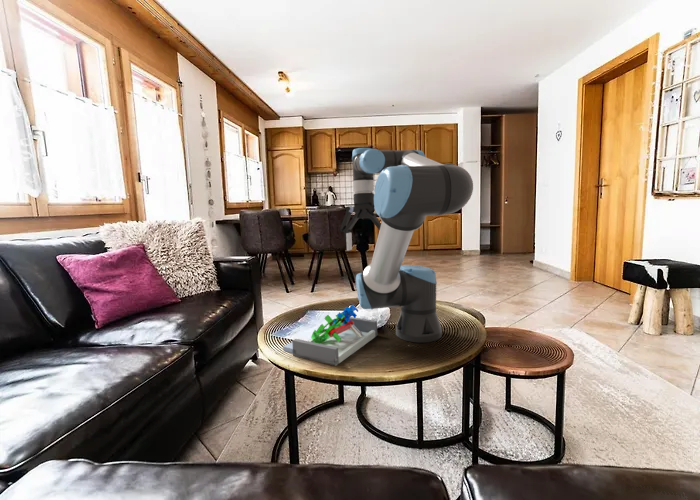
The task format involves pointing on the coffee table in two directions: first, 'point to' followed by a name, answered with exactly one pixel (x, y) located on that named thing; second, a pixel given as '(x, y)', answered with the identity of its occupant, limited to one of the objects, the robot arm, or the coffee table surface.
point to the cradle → (336, 344)
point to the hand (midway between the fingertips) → (365, 250)
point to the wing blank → (289, 347)
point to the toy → (337, 326)
